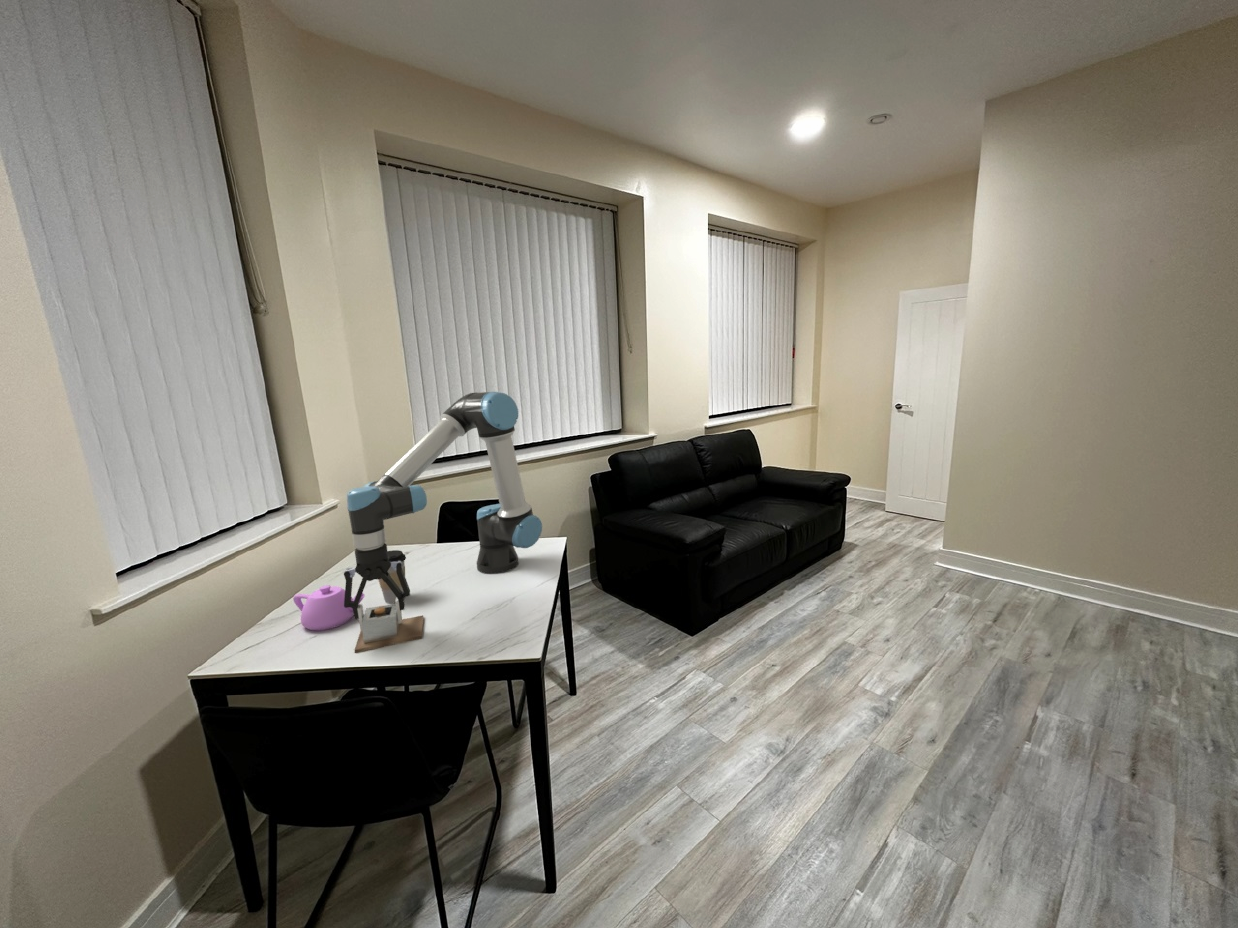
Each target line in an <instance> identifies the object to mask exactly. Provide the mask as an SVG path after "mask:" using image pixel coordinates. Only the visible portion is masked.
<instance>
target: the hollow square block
mask: <svg viewBox="0 0 1238 928" xmlns="http://www.w3.org/2000/svg"><path fill="white" fill-rule="evenodd" d="M379 607H385V615H386V616H380V617H375V613H374V610H375V609H377V608H379ZM399 625H400V623H399V624H398V617H397V610H396V603H391V604H386V605H380V606H374V607H372V606H371V607H367V608H366V609H365V611H364V617H363V620H362V630H363V641H364V643H367V642H373V641H379V640H385V639H390V638H395V637H397V636H398V630H399Z"/></svg>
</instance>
